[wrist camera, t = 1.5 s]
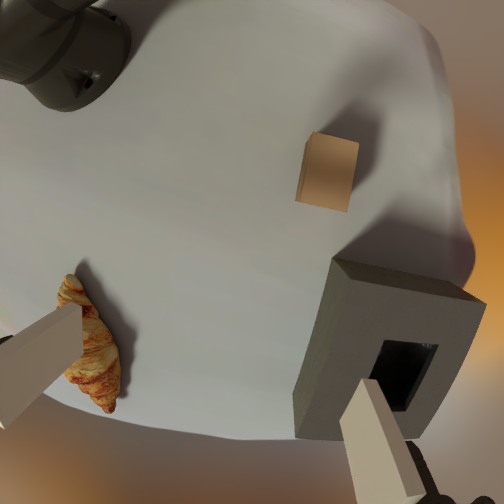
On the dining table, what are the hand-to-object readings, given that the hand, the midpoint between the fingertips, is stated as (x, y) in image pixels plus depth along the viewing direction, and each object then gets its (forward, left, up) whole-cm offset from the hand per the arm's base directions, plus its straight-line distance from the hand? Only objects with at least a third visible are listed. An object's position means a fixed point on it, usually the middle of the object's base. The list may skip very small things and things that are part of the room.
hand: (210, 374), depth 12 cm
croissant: (+15, -19, -20) cm, 31 cm away
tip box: (+6, +16, -20) cm, 26 cm away
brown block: (-11, +5, -20) cm, 23 cm away
